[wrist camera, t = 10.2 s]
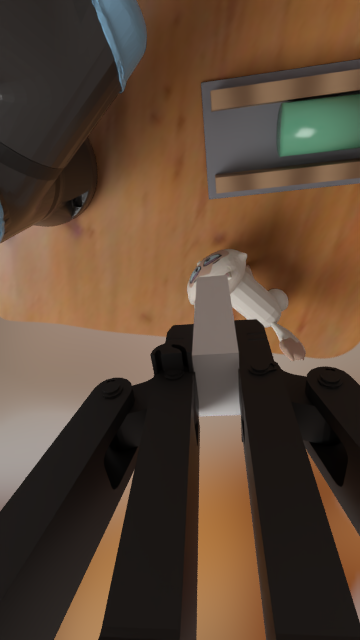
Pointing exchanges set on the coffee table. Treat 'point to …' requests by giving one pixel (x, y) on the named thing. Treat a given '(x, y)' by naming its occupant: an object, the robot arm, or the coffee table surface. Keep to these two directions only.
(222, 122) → the mat
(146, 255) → the coffee table surface
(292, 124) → the bottle
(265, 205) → the coffee table surface
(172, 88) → the coffee table surface
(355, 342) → the coffee table surface
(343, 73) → the rest
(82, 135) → the robot arm
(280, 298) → the toy
